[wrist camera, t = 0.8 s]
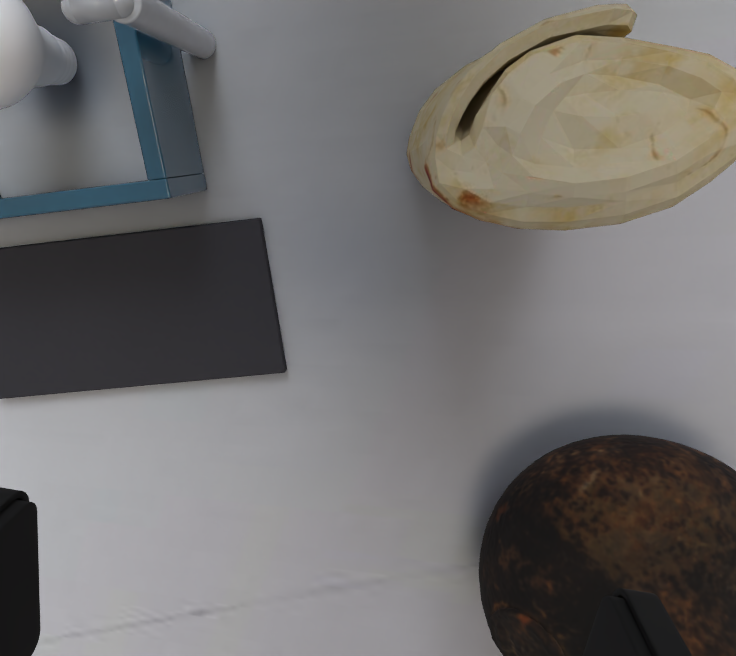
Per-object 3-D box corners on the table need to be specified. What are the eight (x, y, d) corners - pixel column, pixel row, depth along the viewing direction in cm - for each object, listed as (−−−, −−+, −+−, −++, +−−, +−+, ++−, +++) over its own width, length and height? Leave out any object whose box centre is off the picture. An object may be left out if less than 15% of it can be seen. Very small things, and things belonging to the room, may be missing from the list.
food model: (412, 208, 35) (426, 280, 16) (397, 90, 33) (395, 12, 14) (578, 184, 34) (801, 231, 15) (573, 62, 32) (821, -61, 13)
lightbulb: (68, 141, 35) (-74, 139, 25) (-10, 57, 34) (-194, 16, 23) (136, 69, 34) (17, 35, 23) (57, -22, 33) (-106, -101, 22)
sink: (-97, -77, 32) (-325, -180, 22) (186, -125, 31) (82, -258, 21) (-9, 216, 37) (-164, 242, 27) (241, 186, 35) (177, 201, 25)
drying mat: (-43, 252, 38) (-50, 254, 37) (261, 217, 36) (259, 218, 35) (3, 395, 40) (-3, 399, 40) (286, 369, 39) (285, 372, 38)
